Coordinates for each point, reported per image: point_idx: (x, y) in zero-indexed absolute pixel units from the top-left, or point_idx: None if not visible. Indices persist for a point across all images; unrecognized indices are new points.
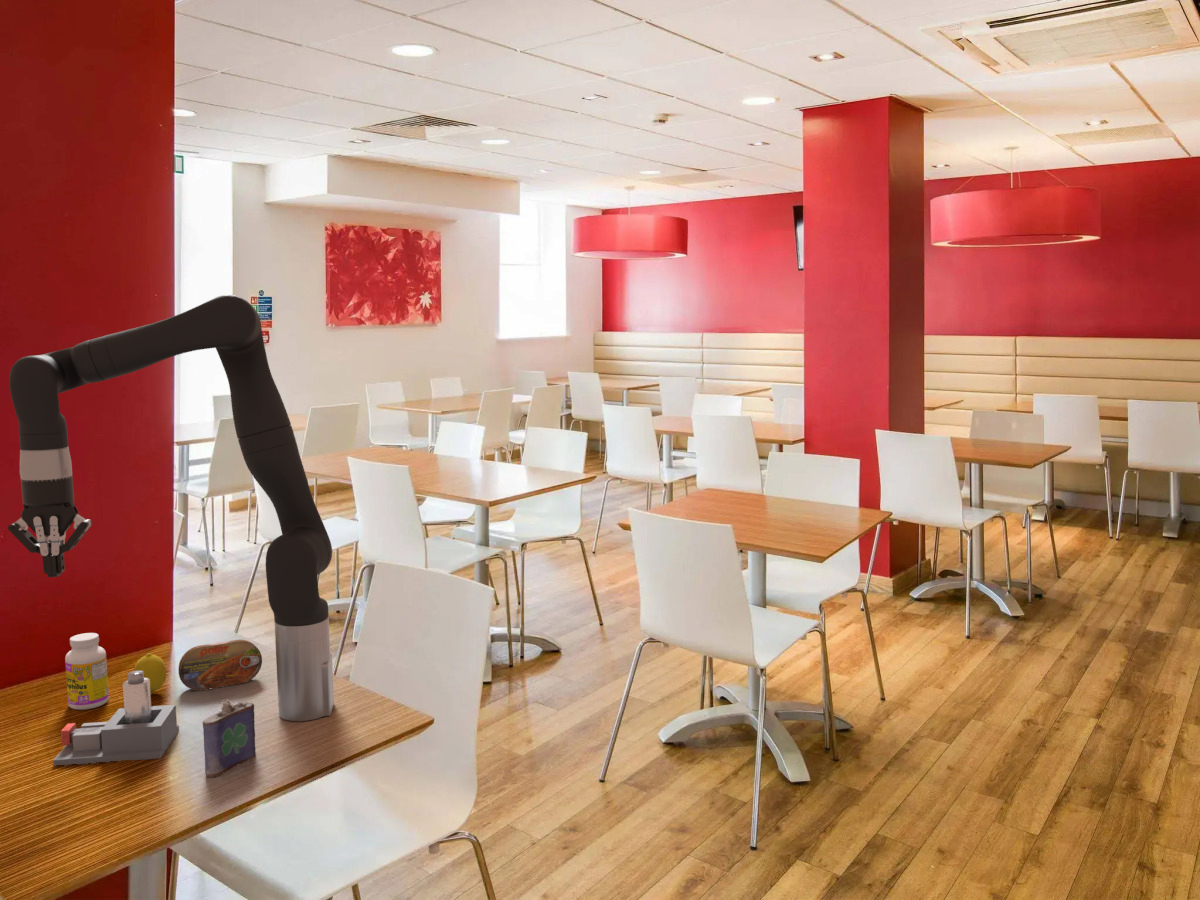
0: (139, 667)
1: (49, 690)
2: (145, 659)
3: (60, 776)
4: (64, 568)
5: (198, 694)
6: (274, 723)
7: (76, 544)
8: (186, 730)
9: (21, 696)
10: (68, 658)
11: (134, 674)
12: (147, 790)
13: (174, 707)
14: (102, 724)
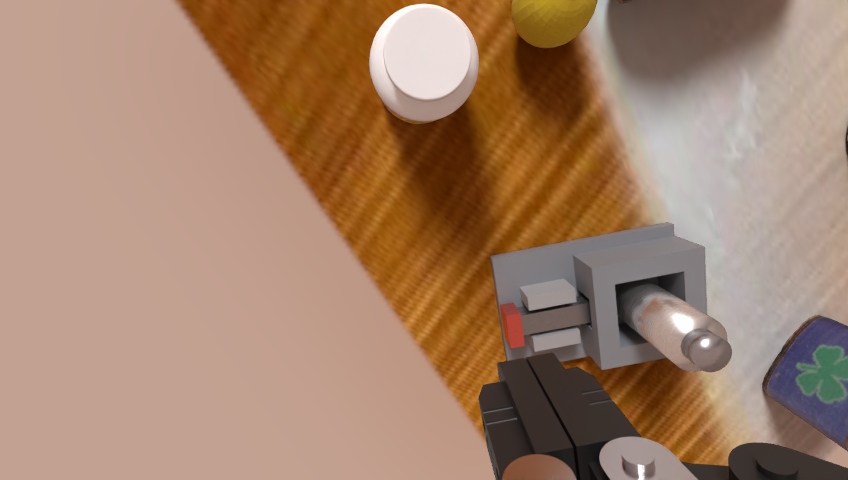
0: (549, 32)
1: None
2: (567, 11)
3: None
4: (593, 381)
5: (646, 20)
6: (840, 186)
7: (830, 470)
8: (680, 221)
9: (226, 31)
10: (398, 110)
11: (714, 364)
12: (688, 432)
13: (703, 255)
14: (567, 302)
